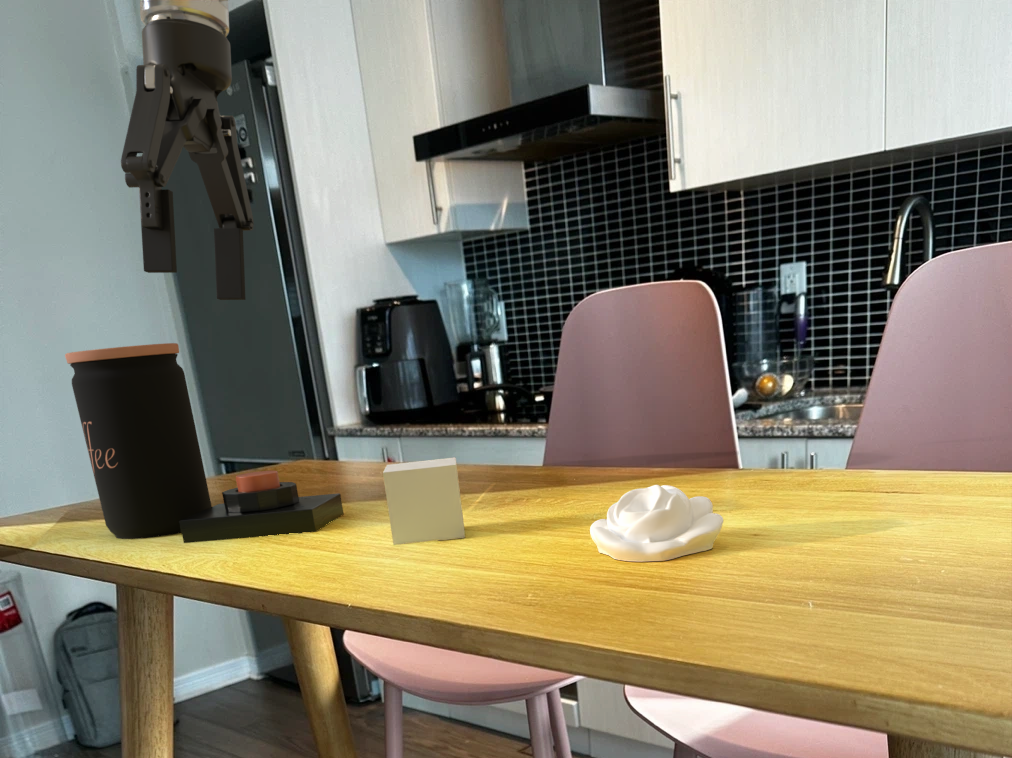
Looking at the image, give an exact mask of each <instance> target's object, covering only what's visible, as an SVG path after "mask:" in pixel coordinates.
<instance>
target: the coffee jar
mask: <svg viewBox="0 0 1012 758" xmlns="http://www.w3.org/2000/svg"><path fill="white" fill-rule="evenodd" d="M178 354H180V347H179V343H177V342H165V343H151V344H140V345H139V344H138V345H127V346H126V345H125V346H116V347H107V348H97V349H87V350H79V351H71V352H67V353H65V355H64V357H65V360H66V363H67V364H68V365H69V366H70V367H71V368H72V369H73V372H74V373H73V376H72V378H71V386H72V391H73V395H74V399H75V403H76V407H77V413H78V415H79V420H80V424H81V428H82V432H83V436H84V441H85V444H86V448H87V453H88V457H89V461H90V465H91V469H92V473H93V477H94V482H95V486H96V491H97V494H98V498H99V502H100V503H99V504H100V507H101V511H102V515H103V519H104V523H105V527H106V528H107V529H108V530H109V532H110V533H112V534H113V535H114V536H115V538H116V539H120V540H140V539H150V538H159V537H165V536H171V535H178V534H182V532H181V528H180V523H179V521H180V520H182V519H184V518H187V517H189V516H192V515H194V514H196V513H199V512H201V511H203V510H206V509H208V508H211V507H213V506H212V502H211V496H210V491H209V486H208V481H207V476H206V472H205V468H204V463H203V458H202V451H201V448H200V443H199V442H200V441H199V437H198V433H197V427H196V423H195V418H194V414H193V410H192V403H191V399H190V394H189V389H188V384H187V380H186V375H185V371H184V368H183V367H181V365H180V364H178V362H177V358H178Z"/></svg>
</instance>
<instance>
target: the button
mask: <svg viewBox="0 0 1012 758" xmlns="http://www.w3.org/2000/svg"><path fill="white" fill-rule="evenodd" d="M235 481H236V482H235V483H236V488H238V492H248V491H258V490H265V489H272V488H276V487H280V483H279V482H280V477H279V472H278V471H277V470H260V471H253V472H246V473H241V474H237V475H236V476H235Z"/></svg>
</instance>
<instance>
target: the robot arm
mask: <svg viewBox="0 0 1012 758" xmlns="http://www.w3.org/2000/svg"><path fill="white" fill-rule="evenodd" d="M139 10H140V11H139V12H140V21H141V22H142V24H143V25H144V27H143V28H142V30H141V43H142V61H143V64H138V65H137V66H136V69H135V70H136V71H135V72H136V73H135V75H136V76H135V78H136V79H135V81H136V82H135V85H136V88H135V89H136V90H135V95H134V98H133V99H134V100H133V104H132V108H131V113H130V114H131V115H130V117H129V121H128V125H127V126H128V127H127V132H126V135H125V140H124V143H123V144H124V145H123V149H122V152H121V158H120V166H121V169H122V171H123V172H124V173H125V174H124V181H125V184H126V186H127V187H128V188H129V189H130V188H132V189H133V188H138V195H139V212H140V229H141V230H140V231H141V246H142V264H143V272H145V273H148V274H165V273H166V274H167V273H168V274H170V273H172V274H173V273H174V274H175V273H178V269H177V247H176V228H175V227H176V226H175V210H174V208H175V207H174V192H173V191H172V190H171V189H163V188H165V187H166V186H167V184H168V182H169V179H170V177H171V175H172V173H173V171H174V168H175V166H176V164H177V162H178V160H179V157H180V155H181V153H182V151H183V148H184V149H185V150H186V151H187V153H188V155H189V158H190V160H191V161H192V162H194V163H196V164H197V167H198V169H199V172H200V176H201V179H202V181H203V186H204V187H205V190H206V194H207V196H208V199H209V202H210V205H211V208H212V211H213V213H214V214H213V215H214V216H215V219H216V220H215V221H216V223H217V225H218V227H217V228H216V227H215V228H213V240H214V241H213V242H214V262H215V263H214V265H215V285H216V286H215V287H216V288H215V289H216V299H217V300H221V301H245V300H246V279H245V278H246V274H245V251H244V250H245V246H244V231H246V232H247V231H253V230H254V227H255V222H254V216H253V212H252V206H251V202H250V201H251V200H250V197H249V192H248V187H247V183H246V179H245V178H246V177H245V173H244V168H243V164H242V159H241V154H240V150H239V145H238V133H237V123H236V119H235V117H234V115H221V112H220V109H219V103H218V97H219V95H220V94H221V93H222V92H223V91H224V92H225V91H226V90H227V89H229V88H230V86H231V84H232V80H233V77H232V75H233V73H232V53H231V52H232V51H231V43H230V41H229V40H228V37H227V36H228V35H229V34H230V15H229V11H230V10H229V0H139ZM138 154H141V155H140V156H139V155H138Z"/></svg>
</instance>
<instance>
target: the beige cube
mask: <svg viewBox="0 0 1012 758" xmlns="http://www.w3.org/2000/svg"><path fill="white" fill-rule="evenodd" d="M382 477H383V484H384V490H385V491H384V492H385V498H386V504H387V510H388V512H387V513H388V517H389V525H390V531H391V539H392V545H393V546H395V545H405V544H413V543H415V544H416V543H422V542H423V543H424V542H432V541H446V540H447V541H448V540H456V539H457V540H458V539H464V538H466V534H465V523H464V515H463V507H462V499H461V489H460V482H459V473H458V465H457V458H456V457H445V458H437V459H429V460H420V461H419V460H418V461H410V462H409V461H407V462H400V463H399V462H398V463H390V464H386V465H385V468H384V470H383V472H382Z"/></svg>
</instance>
